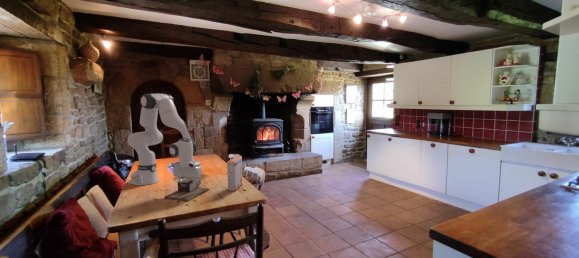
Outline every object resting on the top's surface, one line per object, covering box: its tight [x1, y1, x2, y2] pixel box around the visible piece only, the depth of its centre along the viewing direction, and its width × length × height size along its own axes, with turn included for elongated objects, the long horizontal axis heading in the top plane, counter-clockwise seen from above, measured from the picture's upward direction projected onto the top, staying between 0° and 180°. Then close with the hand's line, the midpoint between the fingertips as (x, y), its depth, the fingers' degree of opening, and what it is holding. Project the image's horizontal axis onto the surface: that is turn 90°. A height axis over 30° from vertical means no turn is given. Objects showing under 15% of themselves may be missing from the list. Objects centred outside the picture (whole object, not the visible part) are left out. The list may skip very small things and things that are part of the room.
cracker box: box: [226, 156, 243, 192], centre depth 195 cm, size 14×6×21 cm, turn 170°
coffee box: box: [177, 176, 202, 192], centre depth 192 cm, size 9×6×16 cm
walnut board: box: [164, 186, 210, 202], centre depth 183 cm, size 18×22×1 cm
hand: (187, 183), depth 182 cm, fingers open, 8 cm apart
